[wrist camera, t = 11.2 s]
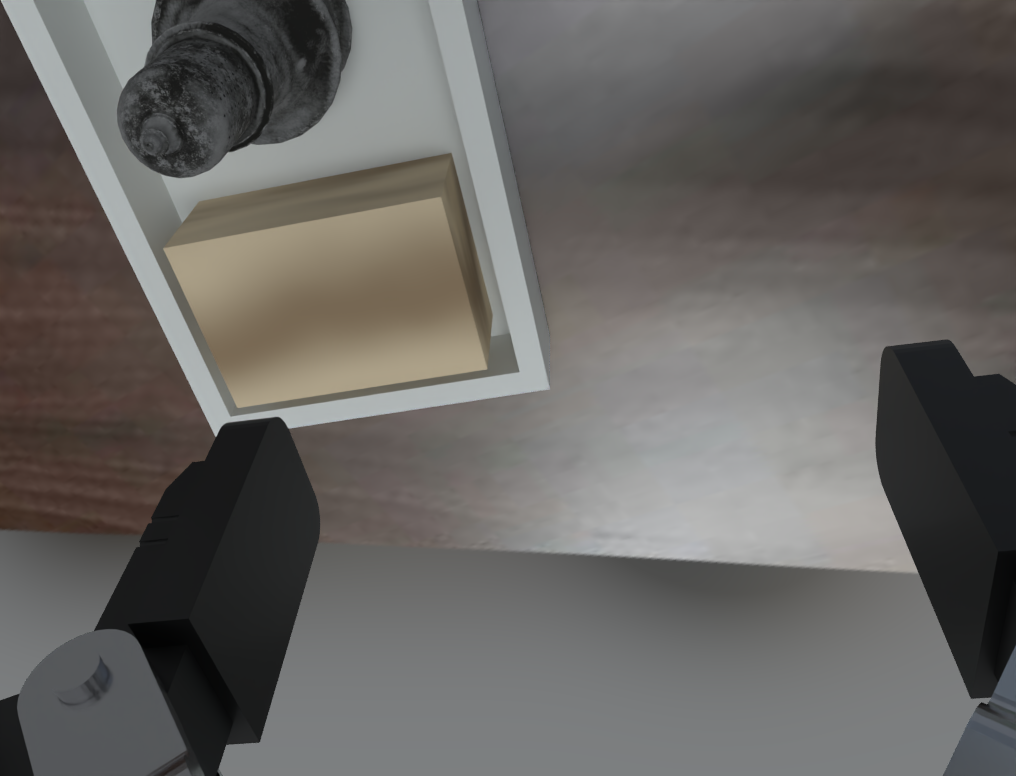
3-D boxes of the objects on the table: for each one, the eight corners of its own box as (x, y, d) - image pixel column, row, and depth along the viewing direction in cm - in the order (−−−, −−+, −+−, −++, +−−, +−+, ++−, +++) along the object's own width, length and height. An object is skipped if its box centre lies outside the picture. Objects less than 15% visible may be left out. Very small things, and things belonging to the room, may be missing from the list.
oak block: (198, 201, 35) (162, 248, 32) (451, 152, 34) (441, 196, 31) (263, 352, 39) (237, 408, 36) (492, 314, 38) (487, 369, 35)
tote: (21, -107, 30) (-43, -89, 27) (431, -212, 28) (415, -205, 25) (243, 384, 42) (216, 439, 38) (549, 335, 39) (549, 389, 36)
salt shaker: (163, 51, 32) (-9, 183, 22) (228, -110, 29) (61, -40, 19) (316, 141, 34) (218, 301, 24) (391, -3, 31) (315, 111, 21)
